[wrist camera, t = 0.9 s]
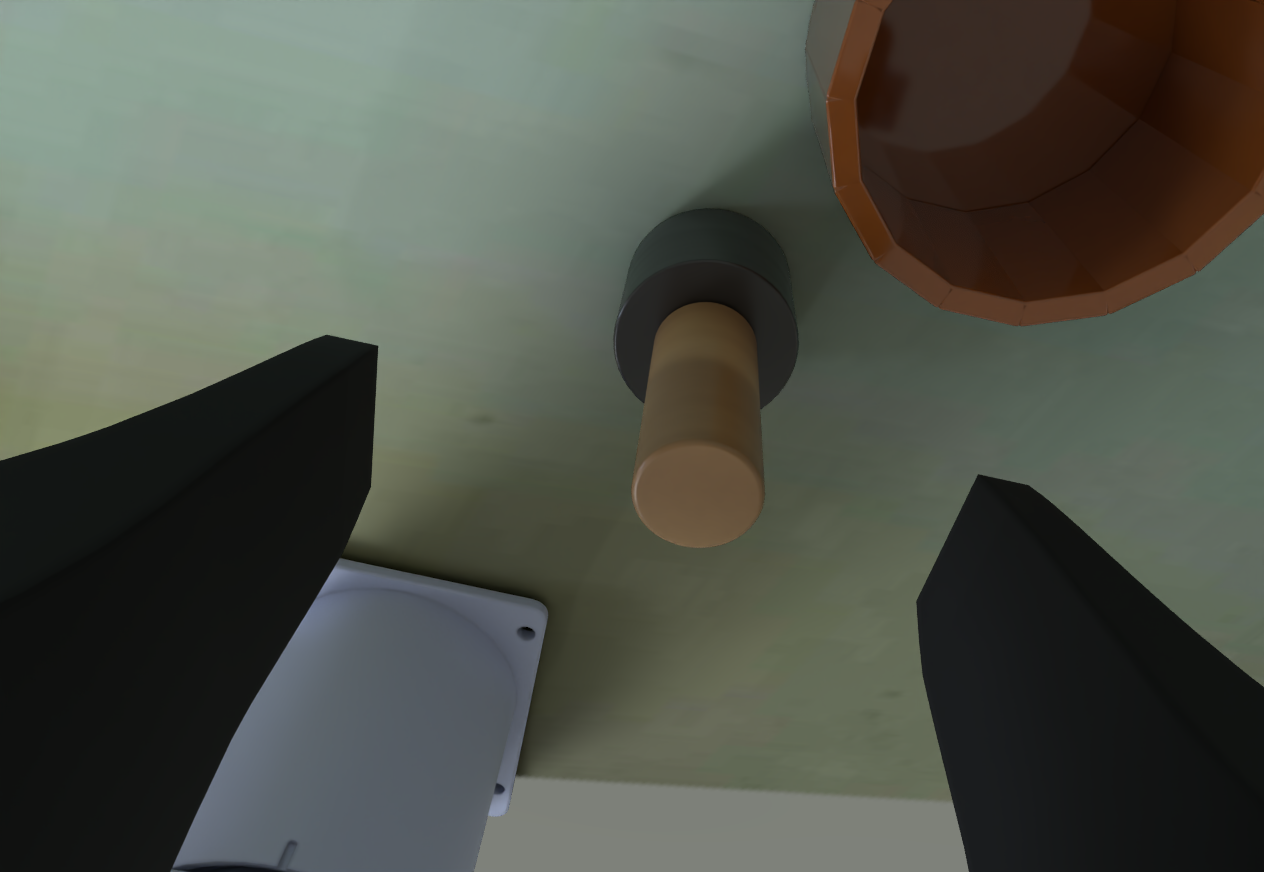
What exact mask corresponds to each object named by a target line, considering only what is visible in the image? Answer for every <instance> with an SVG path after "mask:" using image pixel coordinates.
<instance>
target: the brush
mask: <svg viewBox="0 0 1264 872" xmlns="http://www.w3.org/2000/svg"><path fill="white" fill-rule="evenodd" d="M798 346H799V341H798V329H797V322H796V315H795V308H794V301H793V294H792V287H791V280H790V274H789V268H788V264H787V261H786V258H785V256H784V254H783V252H782V250H781V248H780V246H779V245H778V243H777V242H776V241H775V239H774V238H773V237H772V236H771V235H770V234H769V233H768V232H767V231H766V230H765V229H764V228H763V227H762V226H760V225H759V224H758V223H756V222H754V221H753V220H751V219H749V218H747V217H745V216H743V215H741V214H738V213H734V212H731V211H727V210H721V209H698V210H692V211H687V212H684V213H681V214H678V215H675V216H673V217H671V218H669V219H667V220H665V221H664V222H662V223H661V224H659V225H658V226H657V227H655V228H654V229H653V230H652V231H651V232H650V233H649V234H648V235H647V236H646V237H645V238H644V240H643V241H642V242H641V243H640V245H639V247H638V248H637V250H636V252H635V254H634V256H633V258H632V261H631V264H630V267H629V271H628V275H627V279H626V283H625V287H624V291H623V296H622V300H621V304H620V308H619V312H618V316H617V320H616V324H615V330H614V353H615V359H616V362H617V366H618V369H619V371H620V373H621V375H622V378H623V379H624V381H625V383H626V384H627V386H628V387H629V389H630V390H631V391H632V392H633V393H634V394H635V396H636V397H637V398H638V399H639V400H641V401H642V402H643V403H644V409H643V416H642V422H641V429H640V435H639V441H638V448H637V454H636V461H635V467H634V473H633V480H632V486H631V495H632V501H633V504H634V508H635V510H636V512H637V514H638V516H639V517H640V519H641V520H642V522H643V523H644V524H645V525H646V526H647V527H648V528H649V529H650V530H651V531H652V532H653V533H655V534H656V535H658V536H659V537H661V538H662V539H664V540H666V541H668V542H671V543H674V544H677V545H680V546H685V547H692V548H708V547H714V546H719V545H723V544H725V543H728V542H731V541H733V540H734V539H736V538H738V537H740V536H741V535H742V534H744V533H745V532H746V531H747V530H748V529H750V527H751V526H752V525H753V524H754V523H755V521H756V520H757V518H758V517H759V515H760V513H761V511H762V508H763V504H764V500H765V485H764V466H763V448H762V430H761V412H760V409H762V408H763V407H764V406H766V405H767V404H768V403H770V402H771V401H772V400H773V399H774V398H775V397H776V396H777V395H778V394H779V393H780V391H781V390H782V389H783V387H784V386H785V385H786V383H787V381H788V380H789V378H790V376H791V374H792V371H793V369H794V367H795V363H796V359H797V355H798Z"/></svg>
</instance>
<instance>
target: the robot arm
mask: <svg viewBox="0 0 1264 872" xmlns="http://www.w3.org/2000/svg"><path fill="white" fill-rule="evenodd" d="M377 358H378V346H377V345H372V344H367V343H363V342H358V341H353V340H349V339H344V338H339V337H335V336H330V335H325V336H322V337H319V338H316V339H313V340H311V341H309V342H306V343H304V344H301V345H299V346H297V347H295V348H292V349H290V350H288V351H286V352H284V353H281V354H279V355H277V356H275V357H273V358H270V359H268V360H266V361H264V362H262V363H260V364H257V365H255V366H253V367H251V368H249V369H246V370H244V371H242V372H240V373H237V374H235V375H233V376H231V377H229V378H226V379H224V380H222V381H220V382H217V383H215V384H213V385H211V386H208V387H206V388H204V389H202V390H199V391H197V392H195V393H193V394H190V395H188V396H185V397H183V398H180V399H178V400H175V401H173V402H170V403H167V404H165V405H162V406H160V407H157V408H155V409H152V410H150V411H147V412H145V413H142V414H140V415H137V416H134V417H132V418H129V419H127V420H124V421H122V422H119V423H117V424H114V425H112V426H109V427H106V428H103V429H100V430H98V431H95V432H92V433H89V434H86V435H83V436H80V437H77V438H74V439H71V440H68V441H65V442H62V443H59V444H56V445H52V446H49V447H45V448H42V449H39V450H35V451H32V452H29V453H25V454H22V455H19V456H15V457H12V458H8V459H5V460H1V461H0V872H474V869H475V865H476V861H477V857H478V853H479V849H480V845H481V840H482V837H483V833H484V829H485V825H486V821H487V817H488V815H489V816H502V815H504V814H505V813H507V811H508V809H509V805H510V800H511V795H512V790H513V785H514V781H515V776H516V771H517V766H518V761H519V756H520V751H521V746H522V742H523V737H524V732H525V727H526V722H527V717H528V712H529V707H530V703H531V698H532V693H533V688H534V683H535V678H536V673H537V668H538V664H539V659H540V654H541V649H542V644H543V639H544V634H545V629H546V625H547V620H548V610H547V608H546V607H545V605H543V604H542V603H541V602H539V601H537V600H534V599H530V598H525V597H521V596H516V595H511V594H506V593H502V592H497V591H492V590H487V589H483V588H478V587H473V586H469V585H464V584H459V583H454V582H450V581H445V580H440V579H436V578H431V577H426V576H421V575H417V574H412V573H407V572H403V571H398V570H393V569H388V568H384V567H379V566H374V565H370V564H365V563H360V562H355V561H351V560H346V559H341V558H340V557H341V555H342V553H343V551H344V549H345V546H346V544H347V542H348V540H349V537H350V535H351V533H352V531H353V528H354V526H355V524H356V521H357V519H358V517H359V514H360V512H361V509H362V507H363V505H364V502H365V500H366V497H367V495H368V493H369V490H370V488H371V475H372V456H373V436H374V417H375V397H376V378H377ZM916 603H917V617H918V632H919V644H920V654H921V663H922V673H923V678H924V683H925V688H926V692H927V697H928V701H929V705H930V709H931V714H932V718H933V722H934V726H935V731H936V735H937V739H938V743H939V747H940V751H941V755H942V759H943V763H944V767H945V771H946V775H947V780H948V784H949V788H950V792H951V796H952V800H953V804H954V808H955V812H956V816H957V820H958V824H959V828H960V832H961V837H962V841H963V845H964V849H965V854H966V859H967V864H968V869H969V872H1264V687H1263V686H1262V685H1260V684H1259V683H1258V682H1256V681H1255V680H1254V679H1252V678H1251V677H1250V676H1249V675H1247V674H1246V673H1245V672H1244V671H1242V670H1241V669H1240V668H1239V667H1238V666H1236V665H1235V664H1234V663H1233V662H1232V661H1230V660H1229V659H1228V658H1227V657H1226V656H1224V655H1223V654H1222V653H1221V652H1220V651H1218V650H1217V649H1216V648H1215V647H1213V646H1212V645H1211V644H1210V643H1209V642H1207V641H1206V640H1205V639H1204V638H1203V637H1201V636H1200V635H1199V634H1198V633H1197V632H1195V631H1194V630H1193V629H1192V628H1191V627H1190V626H1188V625H1187V624H1186V623H1185V622H1184V621H1183V620H1182V619H1180V618H1179V617H1178V616H1177V615H1176V614H1175V613H1173V612H1172V611H1171V610H1170V609H1169V608H1168V607H1167V606H1165V605H1164V604H1163V603H1162V602H1161V601H1160V600H1159V599H1158V598H1156V597H1155V596H1154V595H1153V594H1152V593H1151V592H1150V591H1149V590H1148V589H1146V588H1145V587H1144V586H1143V585H1142V584H1141V583H1140V582H1139V581H1138V580H1137V579H1135V578H1134V577H1133V576H1132V575H1131V574H1130V573H1129V572H1128V571H1127V570H1126V569H1124V568H1123V567H1122V566H1121V565H1120V564H1119V563H1118V562H1117V561H1116V560H1115V559H1114V558H1112V557H1111V556H1110V555H1109V554H1108V553H1107V552H1106V551H1105V550H1104V549H1103V548H1102V547H1100V546H1099V545H1098V544H1097V543H1096V542H1095V541H1094V540H1093V539H1092V538H1091V537H1090V536H1088V535H1087V534H1086V533H1085V532H1084V531H1083V530H1082V529H1081V528H1080V527H1079V526H1077V525H1076V524H1075V523H1074V522H1073V521H1072V520H1071V519H1070V518H1068V517H1067V516H1066V515H1065V514H1064V513H1063V512H1062V511H1060V510H1059V509H1058V508H1057V507H1056V506H1055V505H1053V504H1052V503H1051V502H1050V501H1049V500H1047V499H1046V498H1045V497H1044V496H1042V495H1041V494H1040V493H1038V492H1037V491H1036V490H1034V489H1033V488H1031V487H1030V486H1029V485H1025V484H1020V483H1016V482H1011V481H1006V480H1002V479H997V478H992V477H988V476H983V475H978V476H977V478H976V480H975V482H974V484H973V486H972V488H971V490H970V492H969V494H968V496H967V498H966V500H965V502H964V504H963V506H962V509H961V511H960V513H959V515H958V517H957V519H956V521H955V523H954V525H953V527H952V529H951V531H950V533H949V535H948V537H947V539H946V541H945V543H944V546H943V548H942V550H941V552H940V554H939V556H938V558H937V560H936V562H935V564H934V566H933V568H932V570H931V572H930V574H929V576H928V578H927V580H926V583H925V585H924V587H923V589H922V591H921V593H920V595H919V597H918V599H917V601H916ZM522 627H529V628H531V629H533V630H532V631H527V630H525V629H523V628H522Z"/></svg>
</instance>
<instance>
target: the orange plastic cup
mask: <svg viewBox="0 0 1264 872" xmlns="http://www.w3.org/2000/svg"><path fill="white" fill-rule="evenodd" d="M805 56H806V80H807V86H808V92H809V99H810V109H811V119H812V122H813V125H814V128H815V131H816V135H817V138H818V141H819V144H820V147H821V151H822V154H823V157H824V160H825V164H826V167H827V170H828V173H829V176H830V180H831V183H832V186H833V189H834V192H835V194H836V196H837V198H838V200H839V202H840V203H841V205H842V207H843V209H844V211H845V212H846V214H847V216H848V218H849V220H850V221H851V223H852V225H853V227H854V229H855V230H856V232H857V234H858V236H859V238H860V239H861V241H862V243H863V245H864V247H865V248H866V250H867V252H868V254H869V256H870V257H871V259H872V260H874V262H875V264H877V265H878V266H879V267H881V268H882V269H884V270H885V271H886V272H888V273H889V274H890V275H892V276H893V277H895V278H896V279H897V280H899V281H900V282H901V283H903V284H904V285H906V286H907V287H908V288H910V289H911V290H913V291H914V292H915V293H917V294H918V295H919V296H921V297H922V298H924V299H925V300H926V301H928V302H929V303H930V304H932V305H933V306H935V307H939V308H940V309H942V310H946V311H951V312H955V313H960V314H964V315H969V316H973V317H978V318H982V319H987V320H991V321H995V322H1000V323H1004V324H1009V325H1013V326H1029V325H1037V324H1044V323H1052V322H1059V321H1067V320H1075V319H1082V318H1090V317H1097V316H1105V315H1107V314H1108V313H1109V314H1111V313H1114V312H1116V311H1118V310H1120V309H1122V308H1125V307H1127V306H1129V305H1131V304H1133V303H1135V302H1137V301H1139V300H1142V299H1144V298H1146V297H1148V296H1150V295H1152V294H1154V293H1156V292H1158V291H1161V290H1163V289H1165V288H1167V287H1169V286H1171V285H1173V284H1175V283H1178V282H1180V281H1182V280H1184V279H1186V278H1188V277H1190V276H1192V275H1194V274H1196V271H1198V272H1199V271H1201V270H1202V269H1203V268H1204V267H1205V266H1206V265H1207V264H1208V263H1210V262H1211V261H1212V260H1213V259H1214V258H1215V257H1216V256H1217V255H1218V254H1220V253H1221V252H1222V251H1223V250H1224V249H1225V248H1226V247H1227V246H1228V245H1230V244H1231V243H1232V242H1233V241H1234V240H1235V239H1236V238H1237V237H1239V236H1240V235H1241V234H1242V233H1243V232H1244V231H1245V230H1246V229H1247V228H1249V227H1250V226H1251V225H1252V224H1253V223H1254V222H1255V221H1256V220H1257V219H1259V218H1260V217H1261V216H1262V215H1263V214H1264V0H815V1H814V4H813V9H812V13H811V18H810V23H809V27H808V35H807V40H806V47H805Z"/></svg>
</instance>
